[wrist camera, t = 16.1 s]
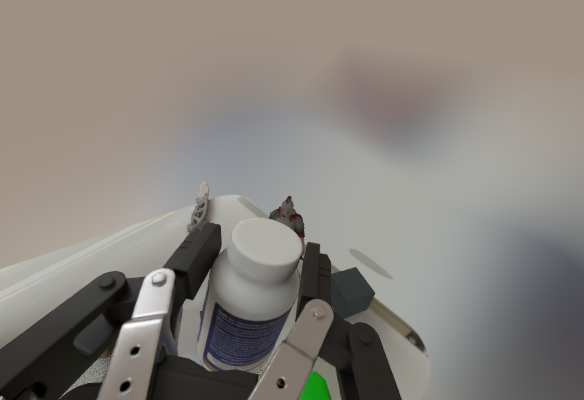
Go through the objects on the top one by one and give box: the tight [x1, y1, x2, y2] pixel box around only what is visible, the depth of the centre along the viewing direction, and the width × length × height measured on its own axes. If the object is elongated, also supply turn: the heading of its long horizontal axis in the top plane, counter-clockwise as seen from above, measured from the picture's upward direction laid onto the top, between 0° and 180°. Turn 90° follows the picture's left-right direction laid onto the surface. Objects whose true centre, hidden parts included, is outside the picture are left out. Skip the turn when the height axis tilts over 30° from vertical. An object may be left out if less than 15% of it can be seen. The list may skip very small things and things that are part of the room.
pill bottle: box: [197, 218, 303, 374], centre depth 15 cm, size 5×5×10 cm
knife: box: [187, 181, 209, 232], centre depth 47 cm, size 2×18×3 cm
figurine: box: [269, 196, 305, 275], centre depth 31 cm, size 7×7×15 cm
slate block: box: [331, 267, 375, 319], centre depth 32 cm, size 4×4×4 cm
